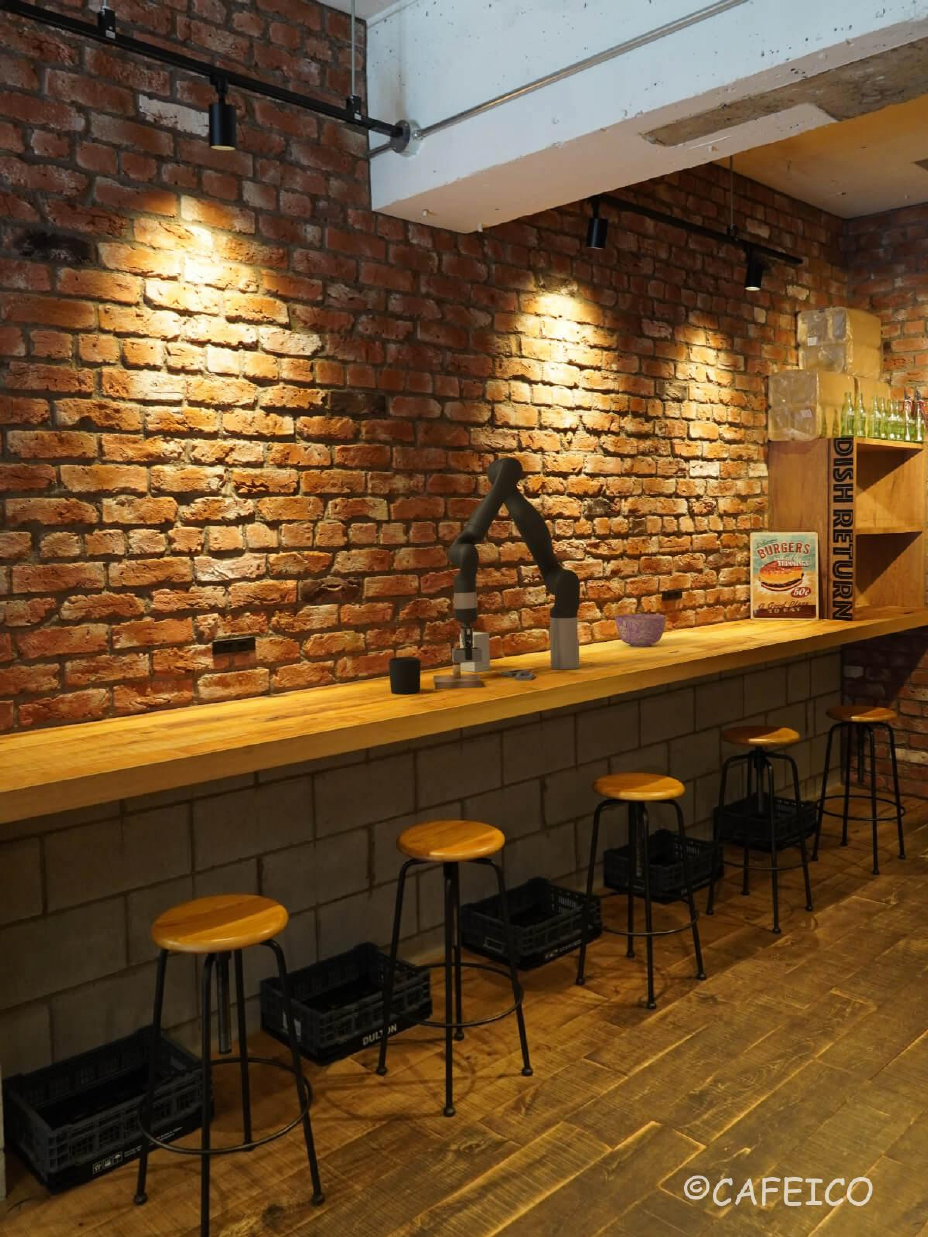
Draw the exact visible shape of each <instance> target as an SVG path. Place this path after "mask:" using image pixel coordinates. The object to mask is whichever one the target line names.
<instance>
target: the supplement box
mask: <svg viewBox="0 0 928 1237" xmlns="http://www.w3.org/2000/svg"><path fill="white" fill-rule="evenodd" d="M473 647H480V648H481V649H482V662H467V663H460V666H461V672H470V673H477V672H478V673H480V672H486V671H490V670H491V659H490V658H491V656H490V655H491V654H490V633H489V632H479V631H473ZM459 648H463V644H462V639H461V633H460V634H459Z"/></svg>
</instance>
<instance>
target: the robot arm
mask: <svg viewBox="0 0 928 1237" xmlns="http://www.w3.org/2000/svg"><path fill="white" fill-rule="evenodd" d="M523 473H524V469H523V465H522V463H521V461H520V460H519V459H518V458H516V457H512V456H511V457H510V456H509V457H508V456H507V457H502V458H500V459H495V460H493V461H491V462H490V463H489V465H488V466H487V470H486V475H487V479H488V482H489V484H490V485H491V488H490V490H489V491H488V493H487V494H486V495H485V497H484V498H483V499H482V500H481V501H480V503H479V504H478V505H477V506H476V508H475V509H474V511H473V512H472V513H471V515H470V517H469V519H468V520H467V523H466V525H465V527H464V529H463V530H462V531H461V532H460V534H459V535H458V536H457V537H456V539H455V540H454V541H453V542H452V544H451V545H450V547H449V549H448V554H447V555H448V560H449V562H450V563H451V564H452V566H457V567H459V572H458V574H455V576H454V577H453V592H454V593H453V612H454V621H455V622H456V623H462V624H461V626H460V629H459V630H460V634H461V639H462V644H463V648H465V659H466V660H472V647H473V632H475V631H474V627H473V626H472V623H473V622H477V621H478V620H479V608H478V596H477V584H476V579H477V573H478V568H479V563H480V555H479V550H478V549H477V547H476V546H475V545H478V544H479V543H481V542H483V541H484V539H485V538H486V536H487V534H488V532H489V530H490V527H491V526H492V524H493V522H494V520H495V518H496V516H497V514H498V513H499V511H500V509H501V507H502V506H503V505H504V506H505V508H506V510H507V512H508V514H509V515H510V517H511V519H512V521H513V522H514V525H515V527H516V529H517V532H518V533H519V535H520V537H521V538H522V541H523V542H524V544H525V546H526V547H527V549H528V551H529V553H530V555H531V557H532V559H533V560H534V562H535V563H536V566H537V568H538V570H539V573H540V576H541V578H542V580H543V583H544V586H545V588H546V589H547V591H548V592H549V593H550V594H551V595H552V596H554V603H553V606H552V607H551V608H550V609H549V639H550V640H549V641H550V642H549V646H550V650H549V651H550V669H552V670H553V669H554V670H575V669H576V670H577V669H580V639H578V637H579V636H578V635H579V634H578V633H579V632H578V631H579V630H578V613H579V612H578V611H579V609H580V604H581V603H580V601H581V600H580V597H581V583H580V582H581V581H580V578H579V577H578V574H577V573H576V572H575V571H573V570H572V569H564V568H563V566H562V565H561V564H560V562H559V559H558V558H557V557H556V554H555V552H554V548H553V539H552V534H551V531H550V528H549V526H548V524H547V523H546V521H545V519H544V517H543V515H542V514H541V511H539V510H538V509H537V508H536V506H534V505H533V504H532V503H531V502H530V501H529V500H528V499H527V498H525V496H524V495H523V494H522V492H521V491H520V489H519V487H518V484H519V482H520V480H521V479H522V477H523Z"/></svg>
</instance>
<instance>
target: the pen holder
mask: <svg viewBox="0 0 928 1237" xmlns="http://www.w3.org/2000/svg"><path fill="white" fill-rule="evenodd" d="M388 671H389V672H388V673H389V685H390V692H391V693H392V694H395V695H414V694H418V693H420V691H421V660H420V659H419V658H418V657H417V656H416V657H415V656H399V657H397V656H396V657H391V658H390V659H389V661H388Z"/></svg>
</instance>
